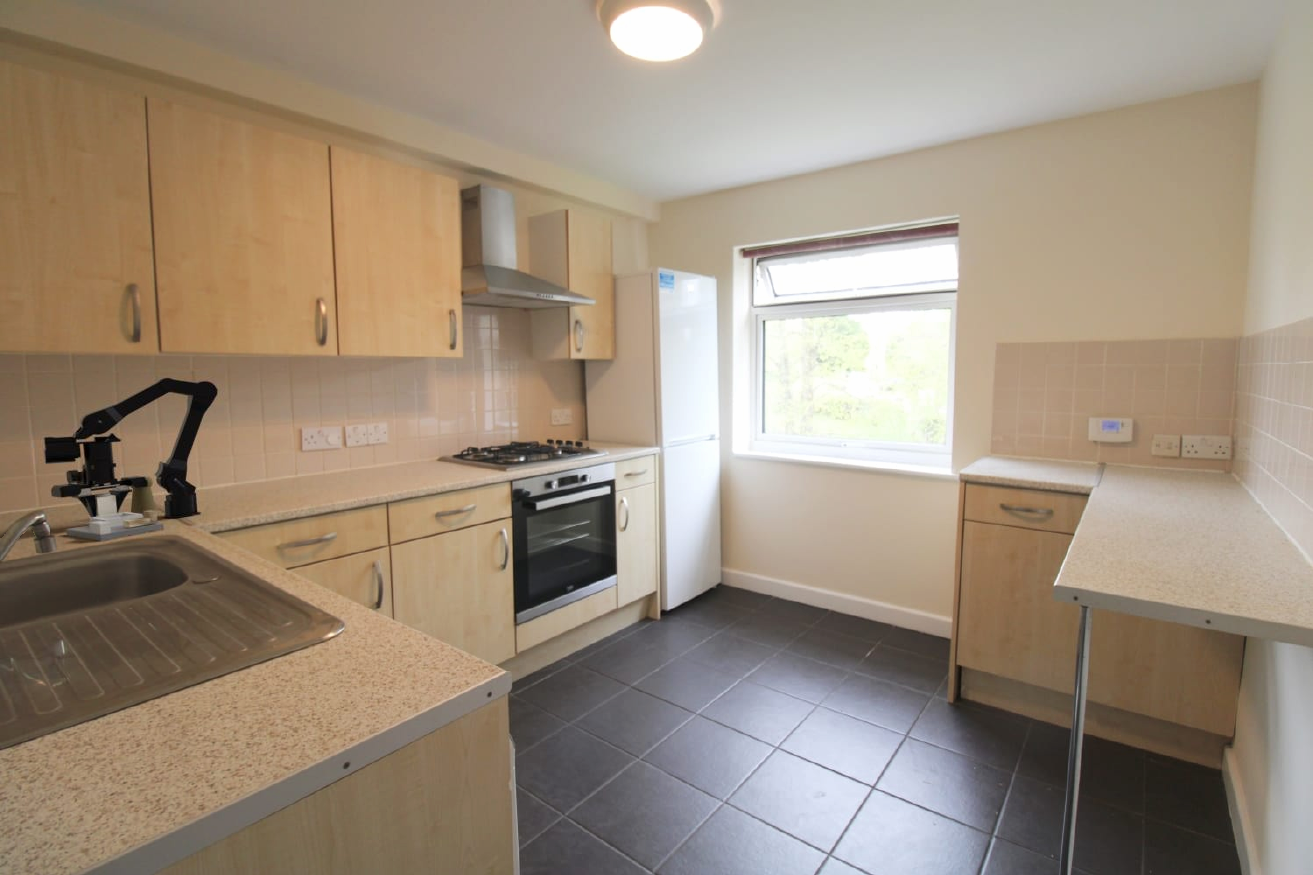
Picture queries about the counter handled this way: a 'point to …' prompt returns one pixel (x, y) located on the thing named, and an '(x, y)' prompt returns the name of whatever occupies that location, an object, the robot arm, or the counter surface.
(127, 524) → the latch bolt
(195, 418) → the robot arm
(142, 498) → the olive pepper mill
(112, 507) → the white upright block
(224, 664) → the counter surface
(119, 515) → the plate
